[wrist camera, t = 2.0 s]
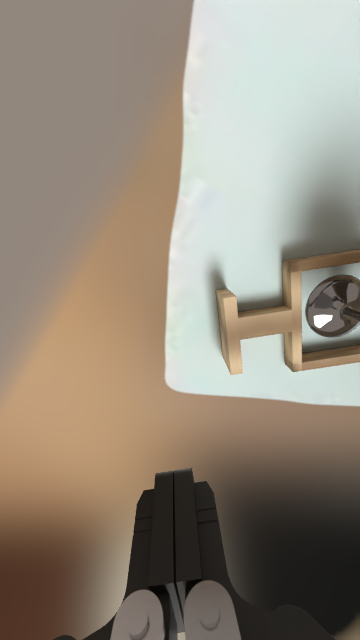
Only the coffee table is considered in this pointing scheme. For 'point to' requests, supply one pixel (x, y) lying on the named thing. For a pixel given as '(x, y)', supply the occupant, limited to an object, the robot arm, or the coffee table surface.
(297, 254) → the coffee table surface
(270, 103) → the coffee table surface
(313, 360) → the drawer
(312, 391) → the coffee table surface
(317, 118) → the coffee table surface
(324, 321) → the wine glass
